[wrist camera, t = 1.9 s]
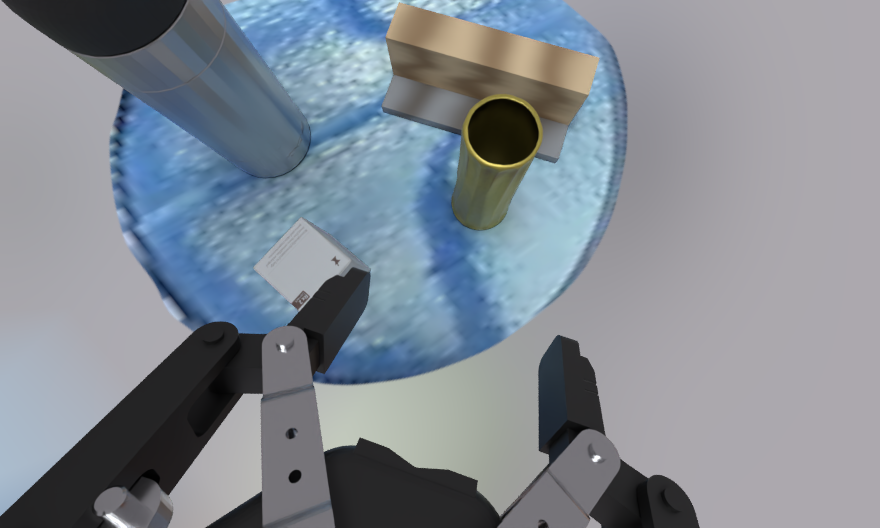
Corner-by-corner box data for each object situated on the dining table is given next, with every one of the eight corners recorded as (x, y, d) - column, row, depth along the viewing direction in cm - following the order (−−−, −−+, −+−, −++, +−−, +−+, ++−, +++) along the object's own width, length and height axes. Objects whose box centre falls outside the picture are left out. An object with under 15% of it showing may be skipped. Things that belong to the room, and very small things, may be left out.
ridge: (383, 111, 37) (371, 73, 31) (417, 21, 38) (412, -32, 32) (555, 163, 35) (577, 133, 30) (583, 68, 37) (609, 21, 31)
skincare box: (330, 234, 35) (300, 213, 28) (372, 270, 34) (352, 259, 27) (291, 276, 34) (249, 267, 27) (333, 314, 34) (302, 316, 26)
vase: (486, 165, 36) (513, 70, 21) (519, 209, 35) (570, 141, 21) (440, 196, 35) (437, 119, 21) (473, 241, 34) (492, 194, 20)
